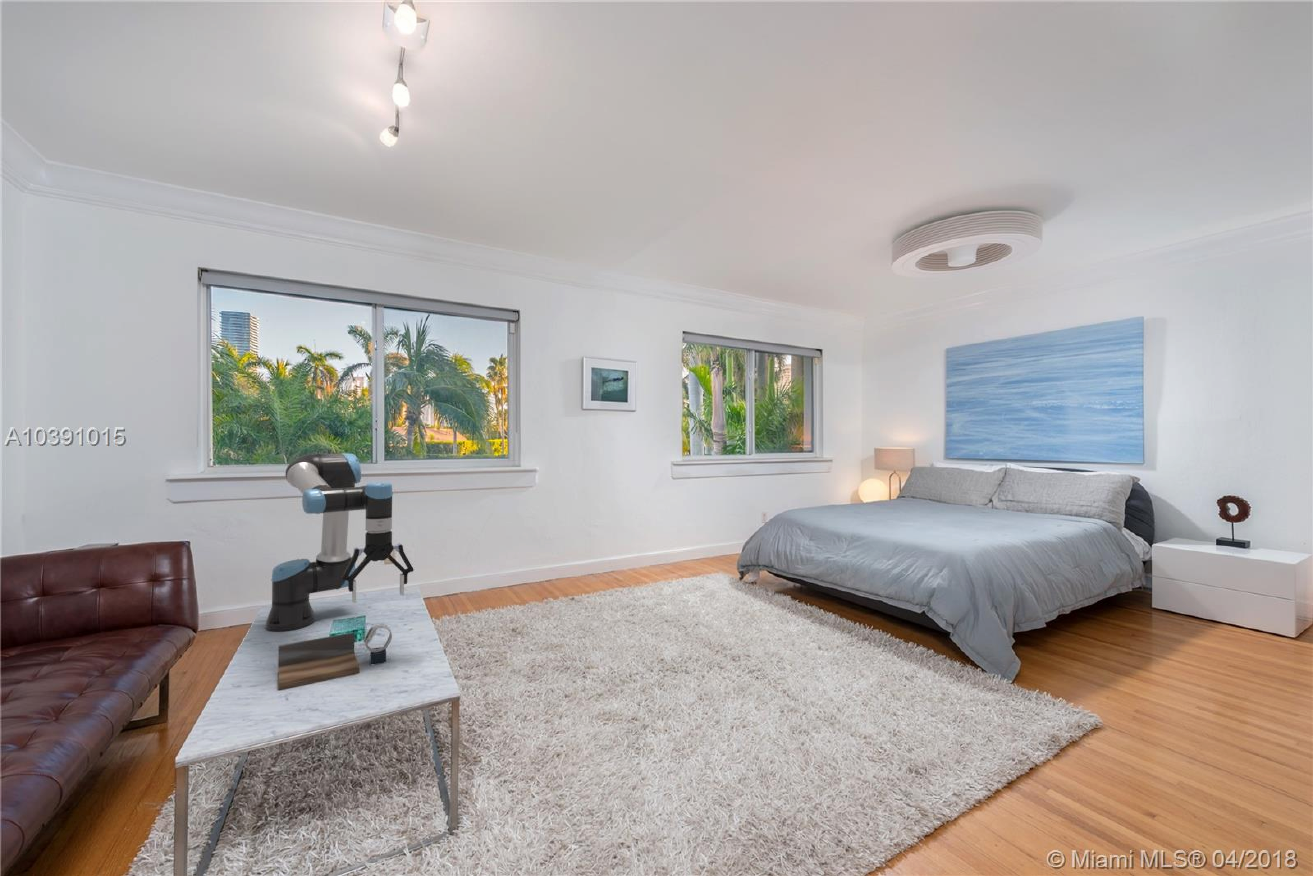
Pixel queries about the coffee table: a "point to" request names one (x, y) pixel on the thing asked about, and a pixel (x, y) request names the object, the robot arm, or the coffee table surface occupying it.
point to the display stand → (316, 660)
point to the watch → (379, 653)
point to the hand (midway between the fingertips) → (378, 598)
